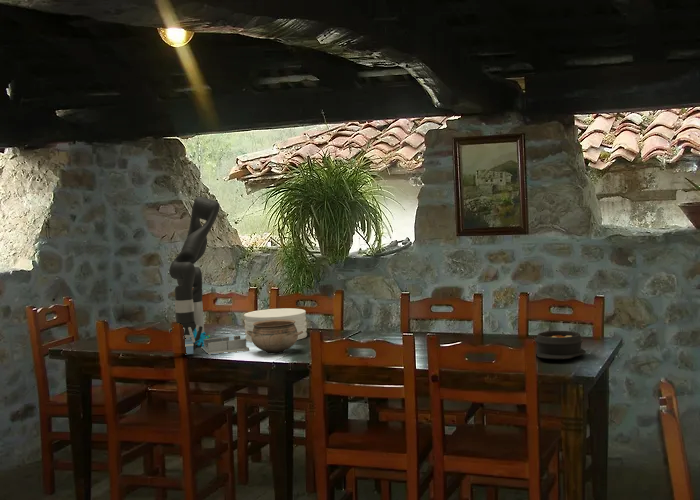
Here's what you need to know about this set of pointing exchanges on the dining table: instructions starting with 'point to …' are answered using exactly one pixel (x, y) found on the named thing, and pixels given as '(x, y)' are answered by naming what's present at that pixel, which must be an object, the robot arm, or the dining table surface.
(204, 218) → the robot arm
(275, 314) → the plate stack
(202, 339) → the gear
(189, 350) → the block
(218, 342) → the plate
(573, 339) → the casserole
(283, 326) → the cooking pot
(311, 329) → the dining table surface
